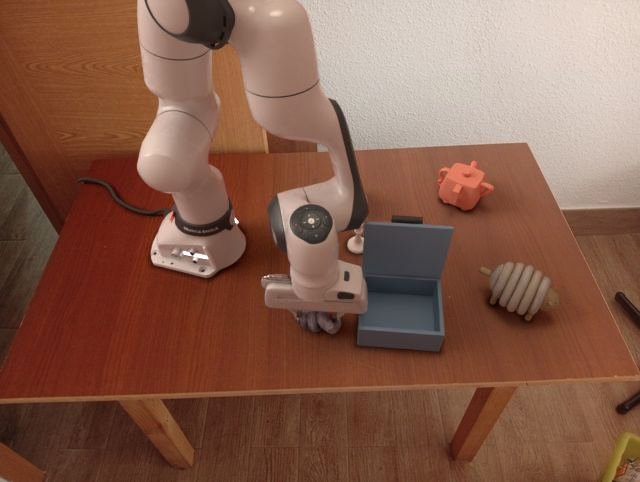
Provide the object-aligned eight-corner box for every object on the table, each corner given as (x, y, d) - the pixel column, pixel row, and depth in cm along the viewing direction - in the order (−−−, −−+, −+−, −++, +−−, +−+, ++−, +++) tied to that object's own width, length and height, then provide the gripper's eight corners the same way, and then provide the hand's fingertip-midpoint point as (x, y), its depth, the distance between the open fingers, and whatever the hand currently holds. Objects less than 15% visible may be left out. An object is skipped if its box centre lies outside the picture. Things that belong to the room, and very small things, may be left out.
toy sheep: (544, 338, 99) (564, 309, 90) (464, 305, 104) (476, 275, 96) (555, 299, 105) (575, 269, 96) (479, 270, 110) (491, 239, 102)
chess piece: (366, 255, 114) (368, 227, 106) (345, 252, 115) (346, 224, 107) (369, 239, 117) (371, 211, 109) (349, 236, 118) (350, 208, 110)
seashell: (342, 329, 103) (296, 324, 104) (343, 305, 102) (296, 301, 103) (339, 339, 98) (290, 334, 99) (340, 314, 96) (291, 310, 98)
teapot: (471, 179, 129) (480, 151, 122) (488, 211, 122) (499, 183, 114) (430, 185, 128) (435, 156, 121) (444, 217, 121) (452, 189, 113)
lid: (453, 229, 90) (451, 210, 93) (364, 223, 91) (365, 205, 95) (441, 277, 100) (439, 259, 104) (361, 272, 102) (362, 254, 105)
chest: (438, 351, 98) (444, 335, 92) (357, 345, 99) (358, 329, 94) (435, 295, 106) (440, 277, 101) (360, 290, 108) (361, 272, 102)
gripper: (256, 288, 88) (265, 326, 98) (369, 295, 86) (366, 333, 97) (262, 260, 92) (270, 299, 102) (370, 267, 90) (366, 306, 101)
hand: (317, 316), depth 99 cm, fingers closed on seashell, 6 cm apart
